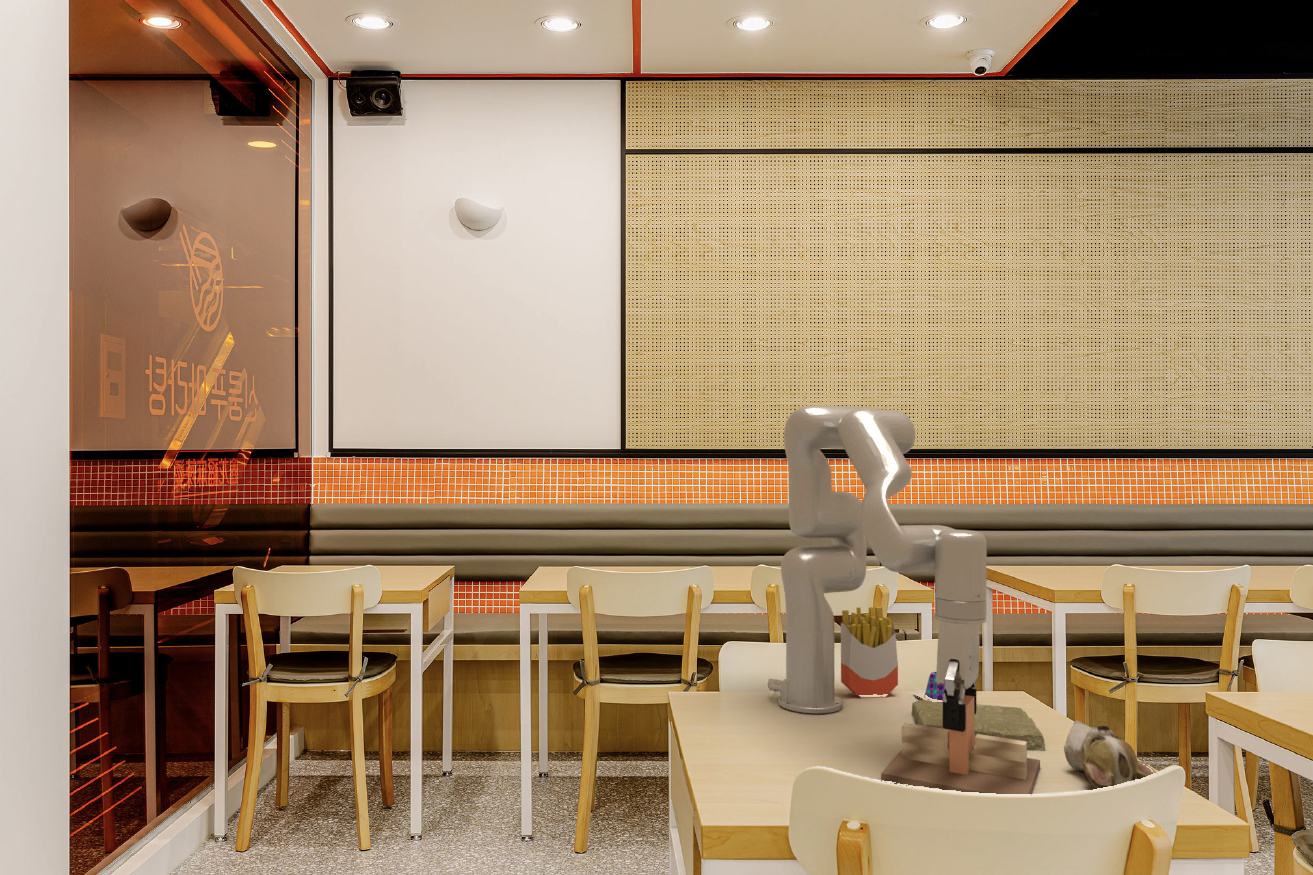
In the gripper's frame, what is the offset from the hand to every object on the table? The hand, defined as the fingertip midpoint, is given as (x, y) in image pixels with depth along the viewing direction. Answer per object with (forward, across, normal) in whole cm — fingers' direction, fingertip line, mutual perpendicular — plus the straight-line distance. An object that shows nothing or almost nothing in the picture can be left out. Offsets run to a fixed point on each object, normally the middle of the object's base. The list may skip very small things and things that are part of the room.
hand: (959, 720), depth 127 cm
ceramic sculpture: (+8, -8, +20) cm, 23 cm away
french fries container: (+9, -38, -24) cm, 46 cm away
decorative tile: (+9, -24, -2) cm, 25 cm away
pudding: (+9, -44, -11) cm, 46 cm away
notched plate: (+7, 0, 0) cm, 7 cm away
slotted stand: (+8, 0, 0) cm, 8 cm away
